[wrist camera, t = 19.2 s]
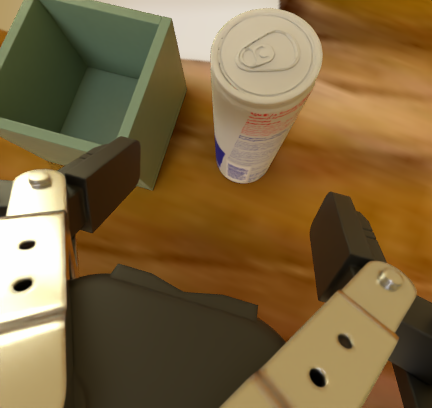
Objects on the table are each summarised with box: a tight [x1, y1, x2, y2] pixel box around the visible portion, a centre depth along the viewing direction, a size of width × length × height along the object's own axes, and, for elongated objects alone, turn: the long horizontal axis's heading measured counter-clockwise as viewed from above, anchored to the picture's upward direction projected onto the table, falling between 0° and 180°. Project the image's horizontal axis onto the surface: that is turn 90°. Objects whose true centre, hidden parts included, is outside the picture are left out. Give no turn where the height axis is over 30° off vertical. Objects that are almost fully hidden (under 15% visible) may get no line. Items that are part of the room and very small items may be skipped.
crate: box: [0, 0, 187, 190], centre depth 24 cm, size 12×12×9 cm
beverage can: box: [210, 8, 323, 183], centre depth 20 cm, size 6×6×15 cm
